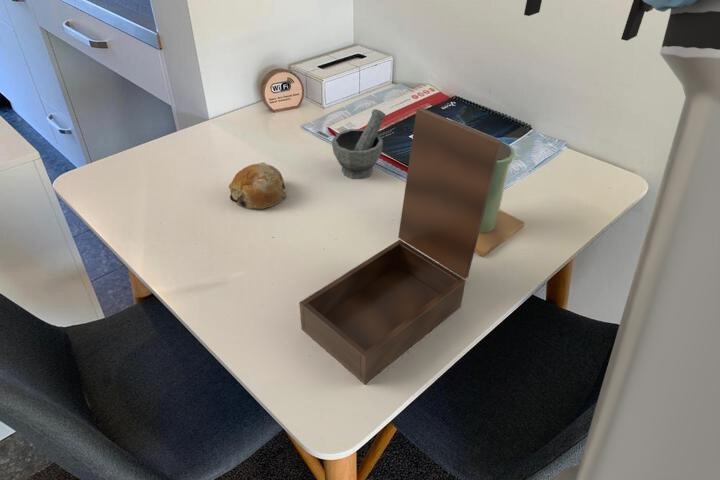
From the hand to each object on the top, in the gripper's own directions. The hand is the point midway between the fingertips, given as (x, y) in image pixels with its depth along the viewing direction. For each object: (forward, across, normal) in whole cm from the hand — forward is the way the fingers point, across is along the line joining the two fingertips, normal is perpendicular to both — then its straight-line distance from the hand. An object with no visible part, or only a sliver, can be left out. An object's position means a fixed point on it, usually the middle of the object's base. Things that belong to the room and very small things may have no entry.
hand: (577, 25), depth 68 cm
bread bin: (+35, +3, +31) cm, 47 cm away
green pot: (+34, +7, +4) cm, 35 cm away
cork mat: (+35, +7, +4) cm, 36 cm away
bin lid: (+19, +3, +21) cm, 28 cm away
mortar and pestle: (+35, +34, +6) cm, 49 cm away
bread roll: (+35, +40, +26) cm, 59 cm away
